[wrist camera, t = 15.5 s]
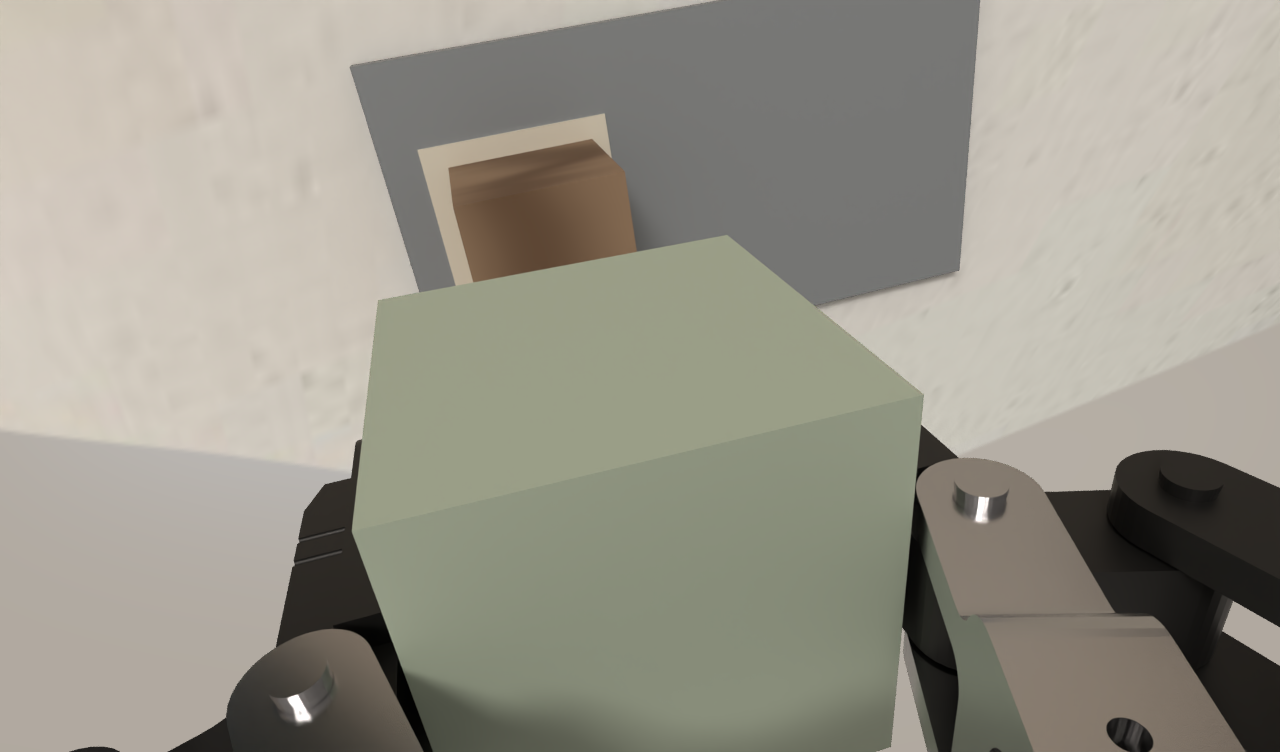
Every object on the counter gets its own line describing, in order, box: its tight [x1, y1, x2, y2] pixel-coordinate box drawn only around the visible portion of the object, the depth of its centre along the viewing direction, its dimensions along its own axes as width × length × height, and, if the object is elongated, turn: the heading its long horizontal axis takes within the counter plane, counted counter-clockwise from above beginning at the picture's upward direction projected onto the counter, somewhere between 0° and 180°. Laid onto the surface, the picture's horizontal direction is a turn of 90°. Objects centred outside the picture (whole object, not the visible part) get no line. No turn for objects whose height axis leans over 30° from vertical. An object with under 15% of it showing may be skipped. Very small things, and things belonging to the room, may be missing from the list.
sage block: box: [352, 235, 924, 752], centre depth 10 cm, size 5×5×5 cm
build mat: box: [350, 0, 980, 306], centre depth 28 cm, size 22×12×1 cm, turn 99°
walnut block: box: [448, 139, 637, 282], centre depth 25 cm, size 5×5×5 cm
